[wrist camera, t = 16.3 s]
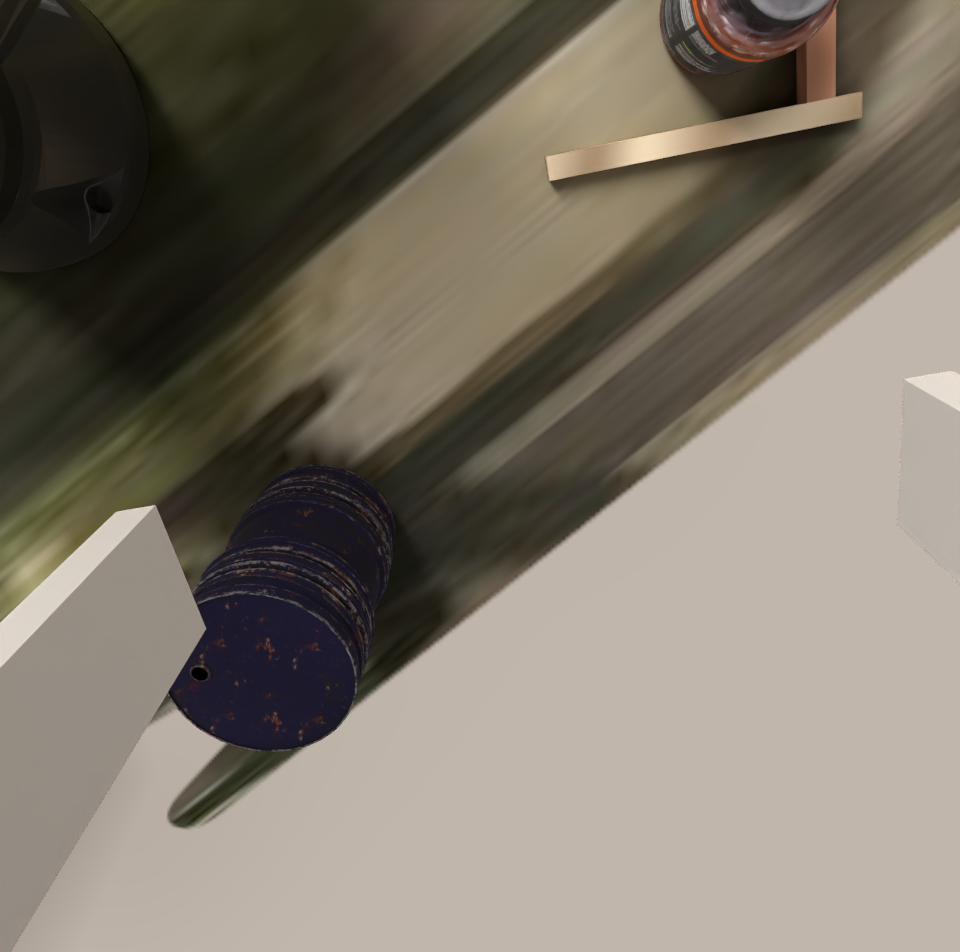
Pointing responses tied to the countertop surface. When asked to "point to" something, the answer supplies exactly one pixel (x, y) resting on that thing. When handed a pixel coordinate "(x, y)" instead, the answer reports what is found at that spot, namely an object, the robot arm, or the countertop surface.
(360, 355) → the countertop surface
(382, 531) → the storage jar
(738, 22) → the supplement bottle
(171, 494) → the countertop surface
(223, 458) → the countertop surface
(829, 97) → the guide channel
